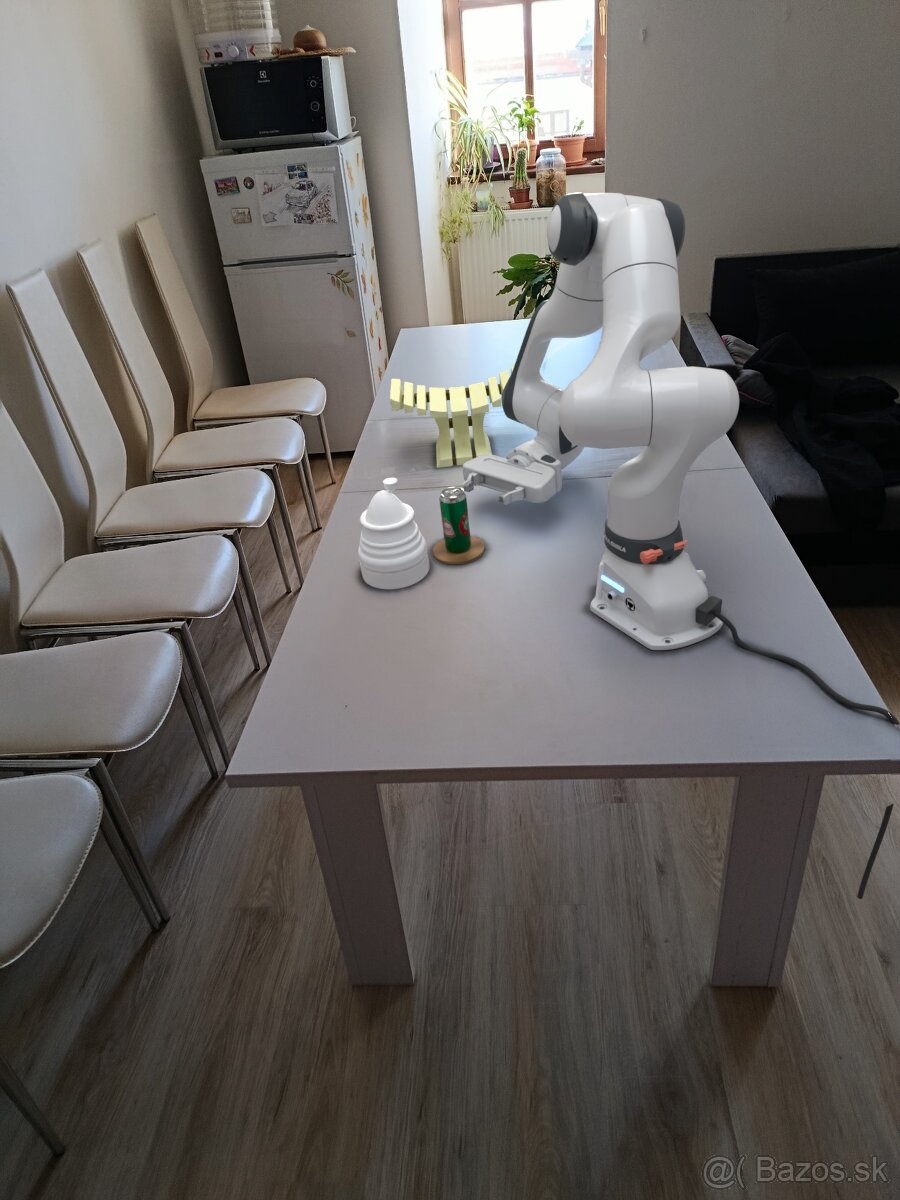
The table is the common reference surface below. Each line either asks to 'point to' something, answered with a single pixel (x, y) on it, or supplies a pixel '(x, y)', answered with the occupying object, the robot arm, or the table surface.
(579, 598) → the table surface
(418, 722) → the table surface
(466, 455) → the slatted curved stool
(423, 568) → the honey pot
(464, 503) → the soda can
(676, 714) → the table surface
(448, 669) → the table surface
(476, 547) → the cork coaster
